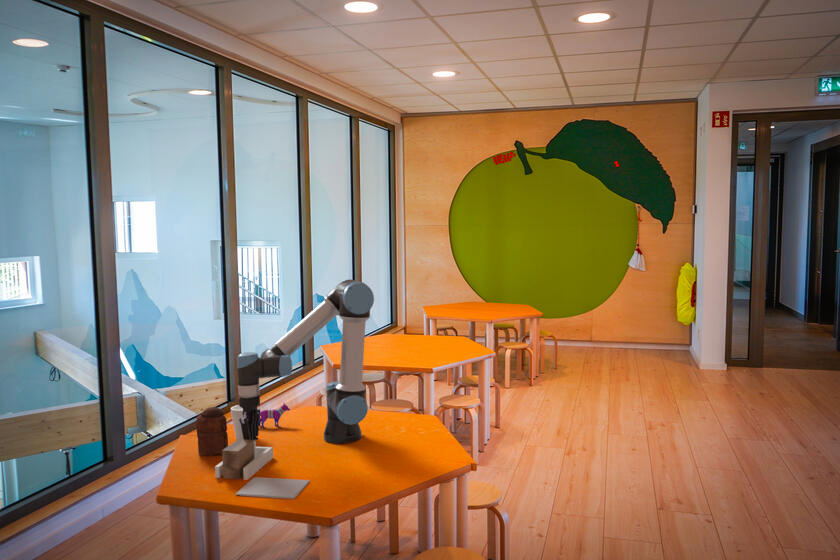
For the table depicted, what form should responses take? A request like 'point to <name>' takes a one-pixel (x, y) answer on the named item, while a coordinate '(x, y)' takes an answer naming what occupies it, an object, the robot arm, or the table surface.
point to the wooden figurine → (212, 432)
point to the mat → (273, 488)
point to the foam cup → (237, 420)
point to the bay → (251, 463)
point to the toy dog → (272, 415)
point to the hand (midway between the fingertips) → (252, 457)
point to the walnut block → (237, 458)
